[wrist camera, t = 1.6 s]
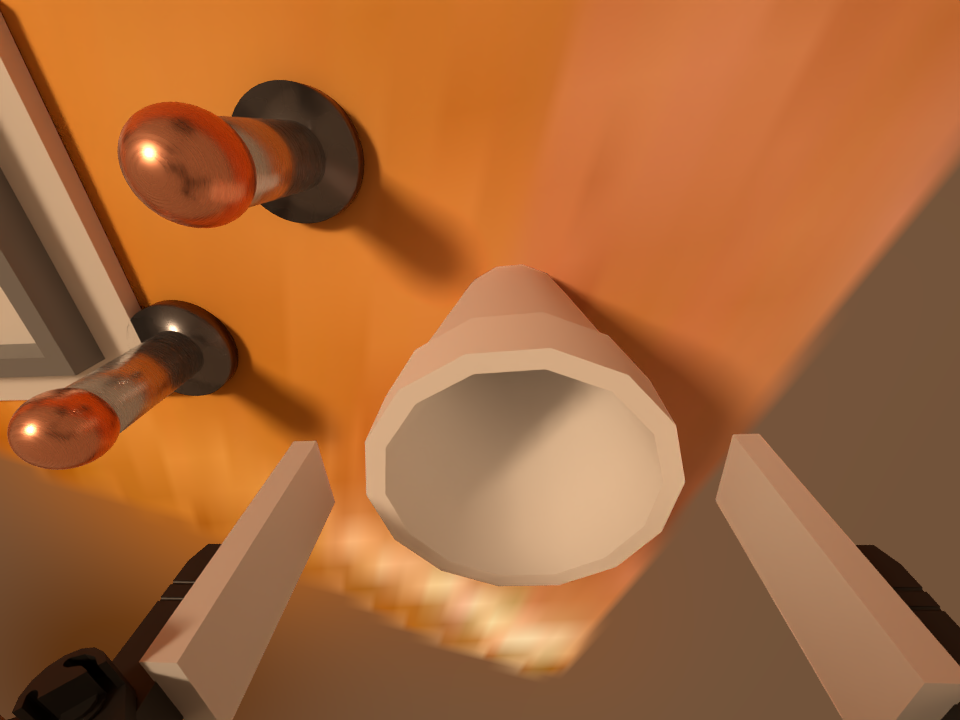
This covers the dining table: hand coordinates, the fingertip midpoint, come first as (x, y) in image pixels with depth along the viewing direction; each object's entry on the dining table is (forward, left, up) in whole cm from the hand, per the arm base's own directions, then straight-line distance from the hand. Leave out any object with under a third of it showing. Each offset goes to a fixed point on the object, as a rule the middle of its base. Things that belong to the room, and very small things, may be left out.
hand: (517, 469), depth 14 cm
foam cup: (0, 0, -12) cm, 12 cm away
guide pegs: (-4, -15, -12) cm, 20 cm away
